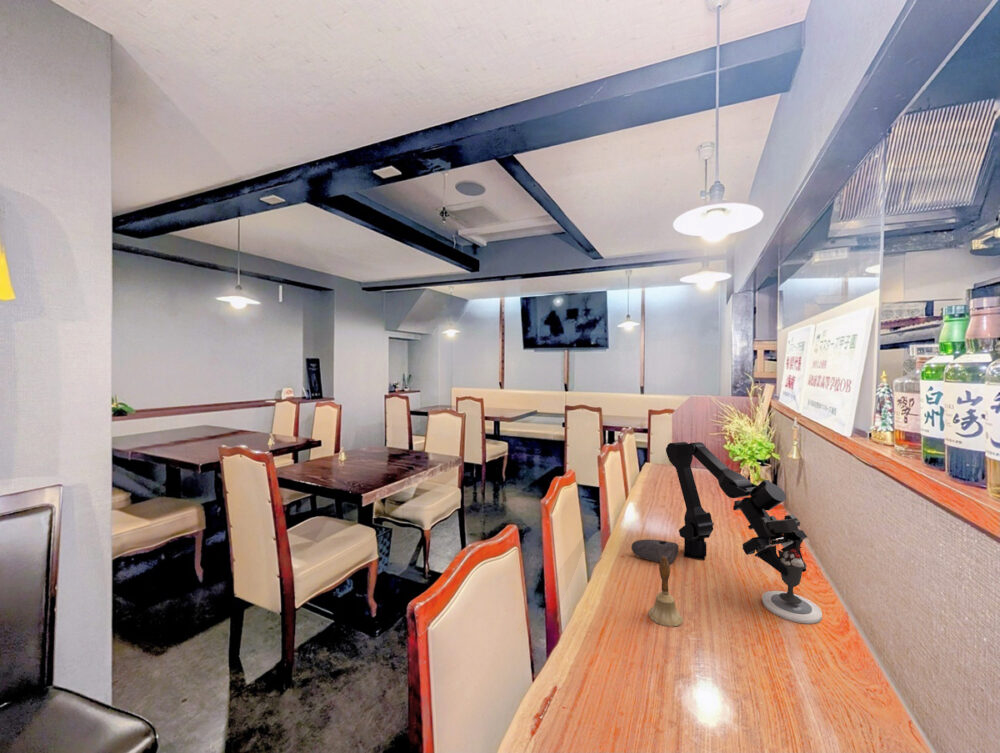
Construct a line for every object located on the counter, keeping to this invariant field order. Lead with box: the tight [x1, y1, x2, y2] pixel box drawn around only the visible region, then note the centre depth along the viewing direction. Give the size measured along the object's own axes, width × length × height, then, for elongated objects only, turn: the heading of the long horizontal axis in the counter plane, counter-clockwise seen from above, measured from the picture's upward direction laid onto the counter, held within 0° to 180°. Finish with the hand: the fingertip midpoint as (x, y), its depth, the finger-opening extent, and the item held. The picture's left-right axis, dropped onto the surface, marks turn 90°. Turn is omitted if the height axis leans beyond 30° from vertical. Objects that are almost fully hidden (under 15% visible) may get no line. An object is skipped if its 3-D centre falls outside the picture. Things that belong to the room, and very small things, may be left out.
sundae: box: [777, 546, 807, 604], centre depth 108 cm, size 7×7×15 cm
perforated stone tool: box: [631, 538, 680, 564], centre depth 136 cm, size 15×5×7 cm, turn 62°
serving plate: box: [761, 590, 823, 625], centre depth 108 cm, size 13×13×1 cm
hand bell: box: [648, 556, 684, 627], centre depth 105 cm, size 8×8×16 cm
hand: (795, 573), depth 107 cm, fingers closed on sundae, 6 cm apart
